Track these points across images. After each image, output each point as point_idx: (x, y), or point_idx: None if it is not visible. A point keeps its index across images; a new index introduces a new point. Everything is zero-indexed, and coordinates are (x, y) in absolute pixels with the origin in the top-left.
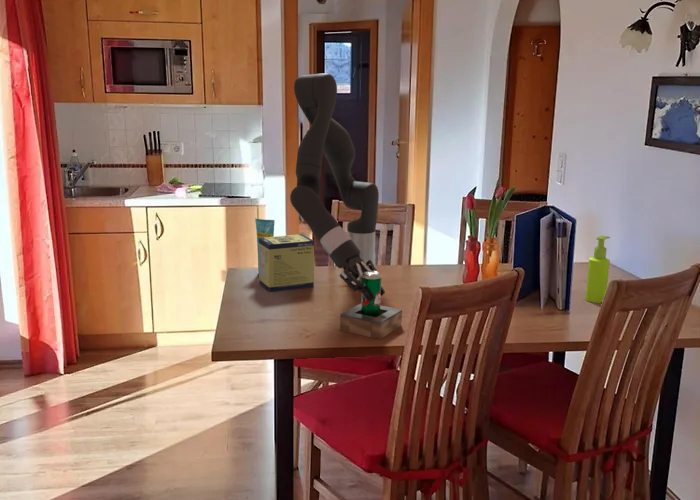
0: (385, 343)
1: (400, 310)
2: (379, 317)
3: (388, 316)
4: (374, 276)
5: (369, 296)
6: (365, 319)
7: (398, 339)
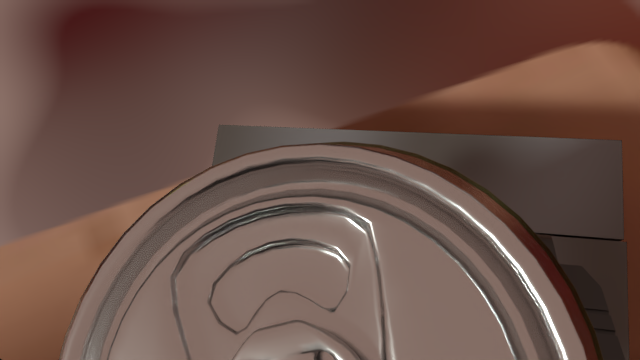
0: (630, 118)
1: (239, 127)
2: None
3: (430, 147)
4: (490, 229)
5: (599, 296)
6: (626, 305)
7: (507, 78)
